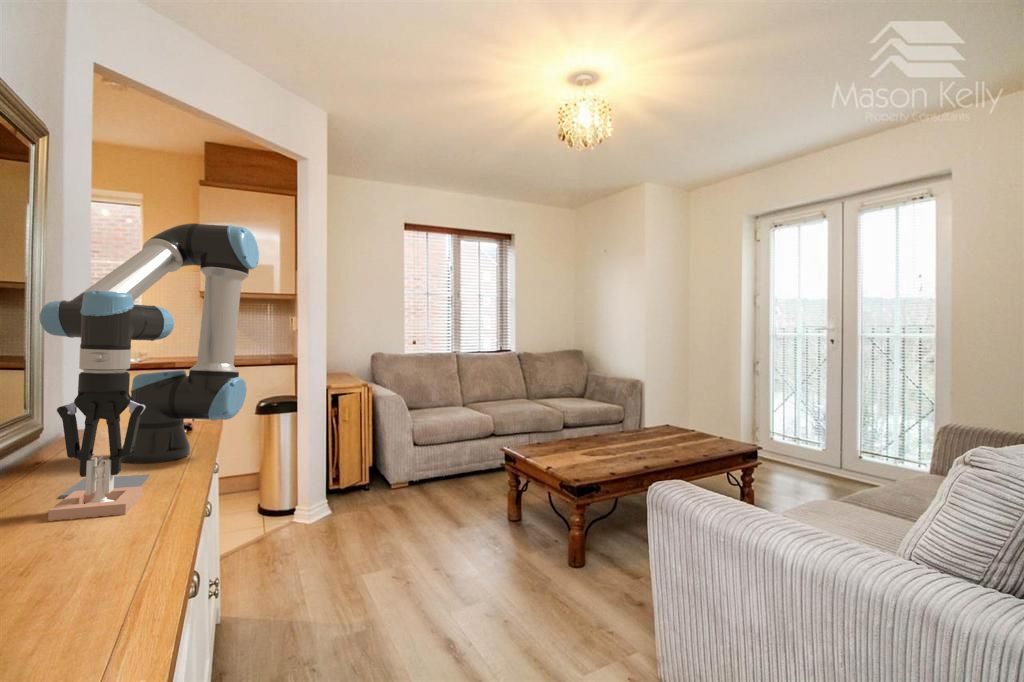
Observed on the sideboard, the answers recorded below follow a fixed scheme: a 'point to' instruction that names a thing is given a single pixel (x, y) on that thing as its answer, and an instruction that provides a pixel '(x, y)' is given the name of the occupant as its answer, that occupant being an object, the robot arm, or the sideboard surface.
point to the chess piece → (100, 482)
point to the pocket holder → (95, 504)
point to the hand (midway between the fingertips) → (99, 492)
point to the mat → (118, 483)
